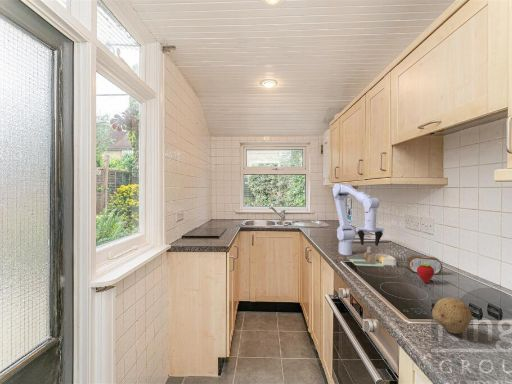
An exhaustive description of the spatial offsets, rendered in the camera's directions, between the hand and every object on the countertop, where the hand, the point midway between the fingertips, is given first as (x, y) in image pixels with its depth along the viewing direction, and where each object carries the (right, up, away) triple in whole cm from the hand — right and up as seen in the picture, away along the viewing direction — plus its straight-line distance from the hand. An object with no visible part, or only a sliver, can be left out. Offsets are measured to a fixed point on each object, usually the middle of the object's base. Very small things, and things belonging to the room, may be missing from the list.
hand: (369, 245), depth 149 cm
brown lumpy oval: (-6, -12, -71) cm, 72 cm away
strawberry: (+13, -12, -28) cm, 33 cm away
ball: (+7, -8, 0) cm, 11 cm away
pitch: (+1, -10, 0) cm, 10 cm away
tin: (+21, -12, -14) cm, 28 cm away
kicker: (0, -9, 0) cm, 9 cm away
